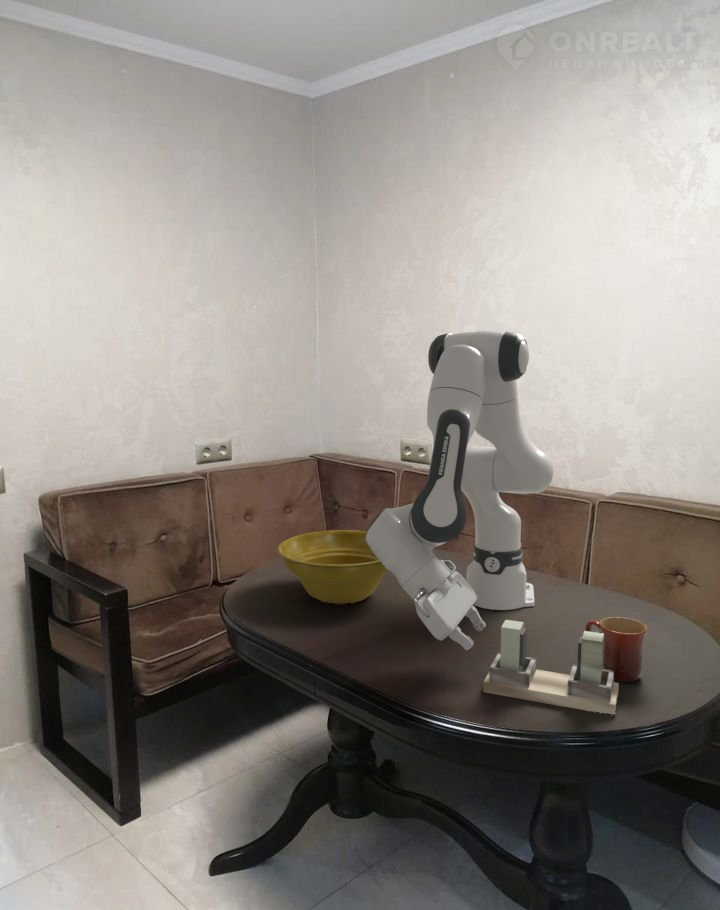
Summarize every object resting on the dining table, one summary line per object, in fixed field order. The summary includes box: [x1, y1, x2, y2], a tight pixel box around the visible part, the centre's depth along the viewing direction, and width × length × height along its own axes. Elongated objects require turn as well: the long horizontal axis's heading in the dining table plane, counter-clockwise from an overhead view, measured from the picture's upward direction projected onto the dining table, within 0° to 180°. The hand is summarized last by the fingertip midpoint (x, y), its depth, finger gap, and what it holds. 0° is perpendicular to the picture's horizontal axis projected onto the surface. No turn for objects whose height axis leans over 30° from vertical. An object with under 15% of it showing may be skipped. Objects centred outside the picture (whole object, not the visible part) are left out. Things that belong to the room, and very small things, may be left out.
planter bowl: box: [276, 529, 390, 605], centre depth 186 cm, size 32×32×13 cm
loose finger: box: [500, 619, 528, 672], centre depth 135 cm, size 4×4×10 cm
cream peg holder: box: [482, 630, 620, 715], centre depth 132 cm, size 9×23×12 cm, turn 67°
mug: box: [584, 616, 649, 683], centre depth 140 cm, size 12×9×10 cm
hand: (477, 637), depth 137 cm, fingers open, 8 cm apart
